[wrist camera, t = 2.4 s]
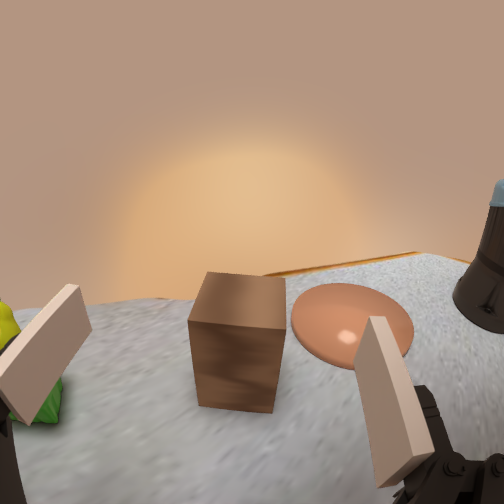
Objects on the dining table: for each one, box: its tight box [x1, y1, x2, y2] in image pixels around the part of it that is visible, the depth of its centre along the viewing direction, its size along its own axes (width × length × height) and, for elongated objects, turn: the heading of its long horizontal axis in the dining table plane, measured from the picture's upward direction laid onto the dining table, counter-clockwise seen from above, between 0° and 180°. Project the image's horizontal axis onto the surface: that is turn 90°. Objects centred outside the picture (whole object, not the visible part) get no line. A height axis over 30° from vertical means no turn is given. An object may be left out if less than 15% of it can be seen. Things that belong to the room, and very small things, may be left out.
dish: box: [291, 283, 414, 370], centre depth 37 cm, size 17×17×1 cm
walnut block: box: [188, 272, 286, 414], centre depth 26 cm, size 7×7×11 cm
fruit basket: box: [0, 301, 62, 423], centre depth 19 cm, size 11×9×11 cm
